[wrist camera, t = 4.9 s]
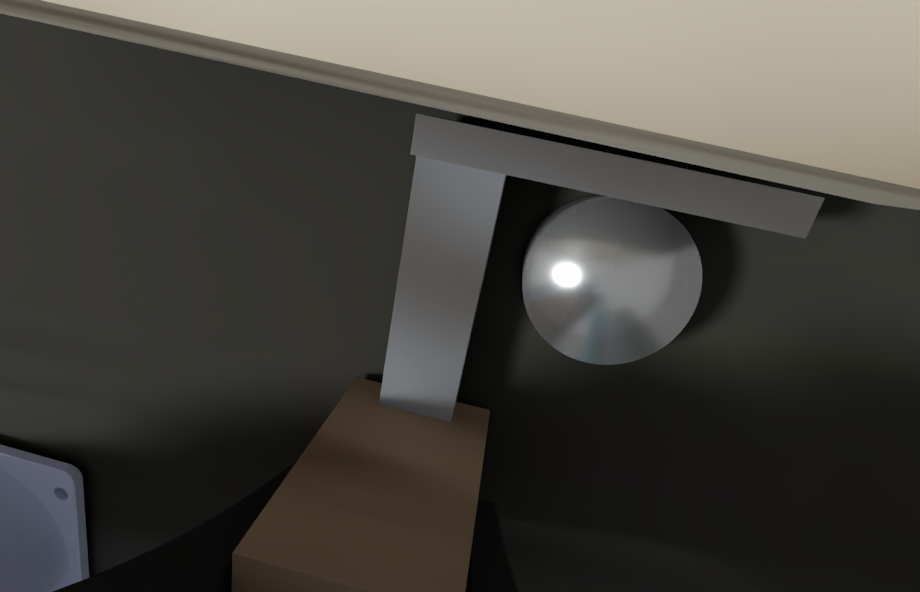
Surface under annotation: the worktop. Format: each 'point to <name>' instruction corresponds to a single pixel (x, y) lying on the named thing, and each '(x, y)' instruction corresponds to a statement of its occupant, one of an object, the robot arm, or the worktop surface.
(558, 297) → the steel ball
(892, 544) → the worktop surface
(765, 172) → the cabinet
